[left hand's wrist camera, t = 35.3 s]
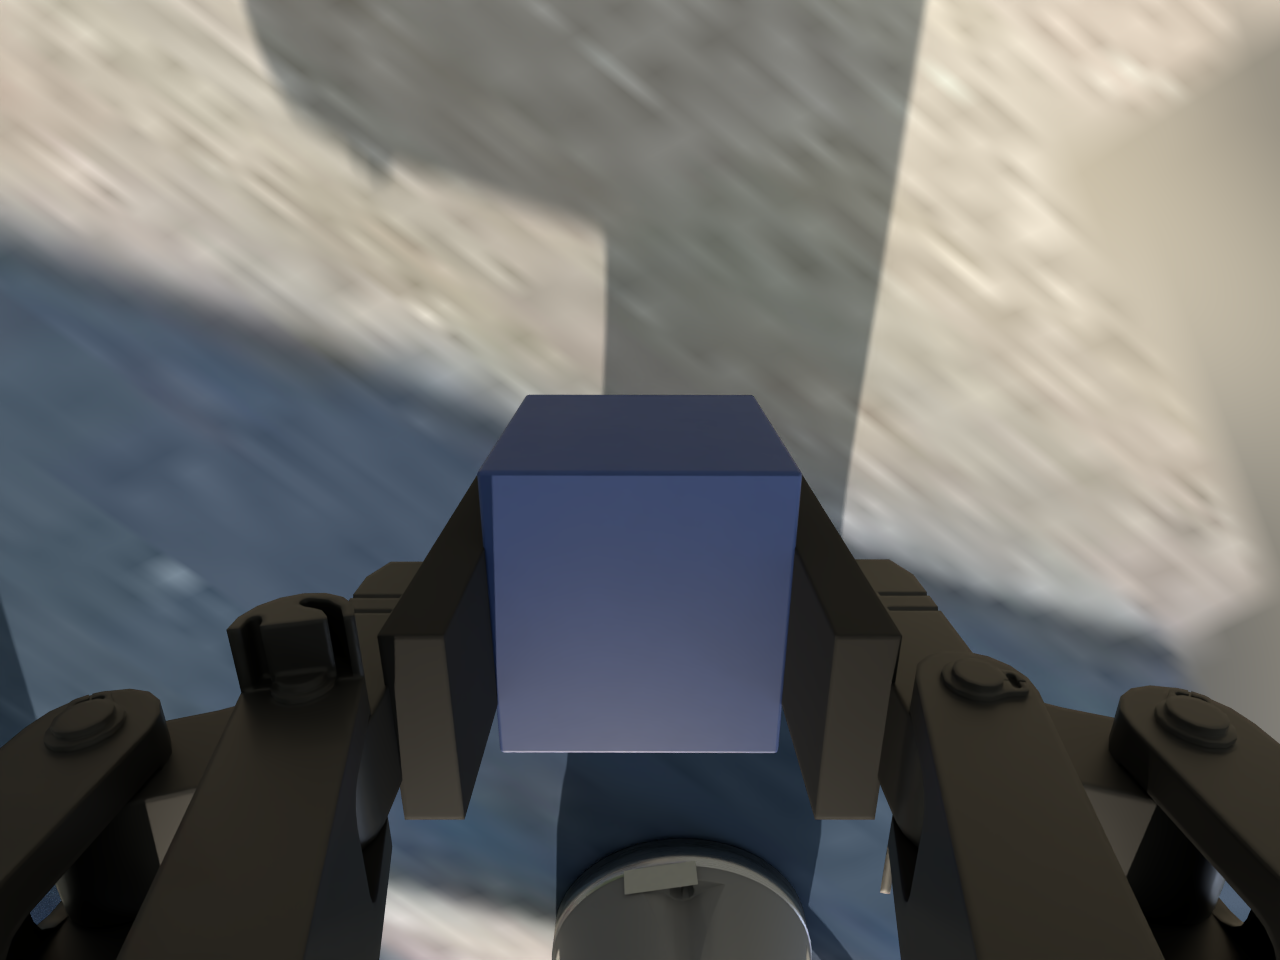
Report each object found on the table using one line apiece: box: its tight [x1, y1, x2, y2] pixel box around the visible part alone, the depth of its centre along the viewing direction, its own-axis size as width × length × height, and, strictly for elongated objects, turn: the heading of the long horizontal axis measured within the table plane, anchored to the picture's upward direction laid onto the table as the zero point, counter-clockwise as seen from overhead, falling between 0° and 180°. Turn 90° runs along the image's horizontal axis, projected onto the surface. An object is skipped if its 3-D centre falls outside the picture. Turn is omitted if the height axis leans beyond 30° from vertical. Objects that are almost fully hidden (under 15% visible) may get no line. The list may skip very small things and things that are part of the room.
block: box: [477, 395, 802, 753], centre depth 13 cm, size 4×5×4 cm
